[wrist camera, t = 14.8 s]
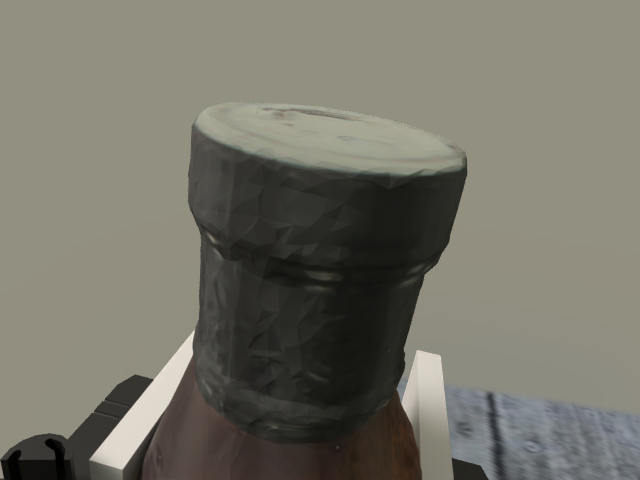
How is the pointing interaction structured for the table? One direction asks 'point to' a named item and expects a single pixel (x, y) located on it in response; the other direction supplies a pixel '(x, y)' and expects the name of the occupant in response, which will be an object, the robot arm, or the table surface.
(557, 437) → the table surface
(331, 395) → the sauce bottle
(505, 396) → the table surface
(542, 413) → the table surface
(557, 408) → the table surface
